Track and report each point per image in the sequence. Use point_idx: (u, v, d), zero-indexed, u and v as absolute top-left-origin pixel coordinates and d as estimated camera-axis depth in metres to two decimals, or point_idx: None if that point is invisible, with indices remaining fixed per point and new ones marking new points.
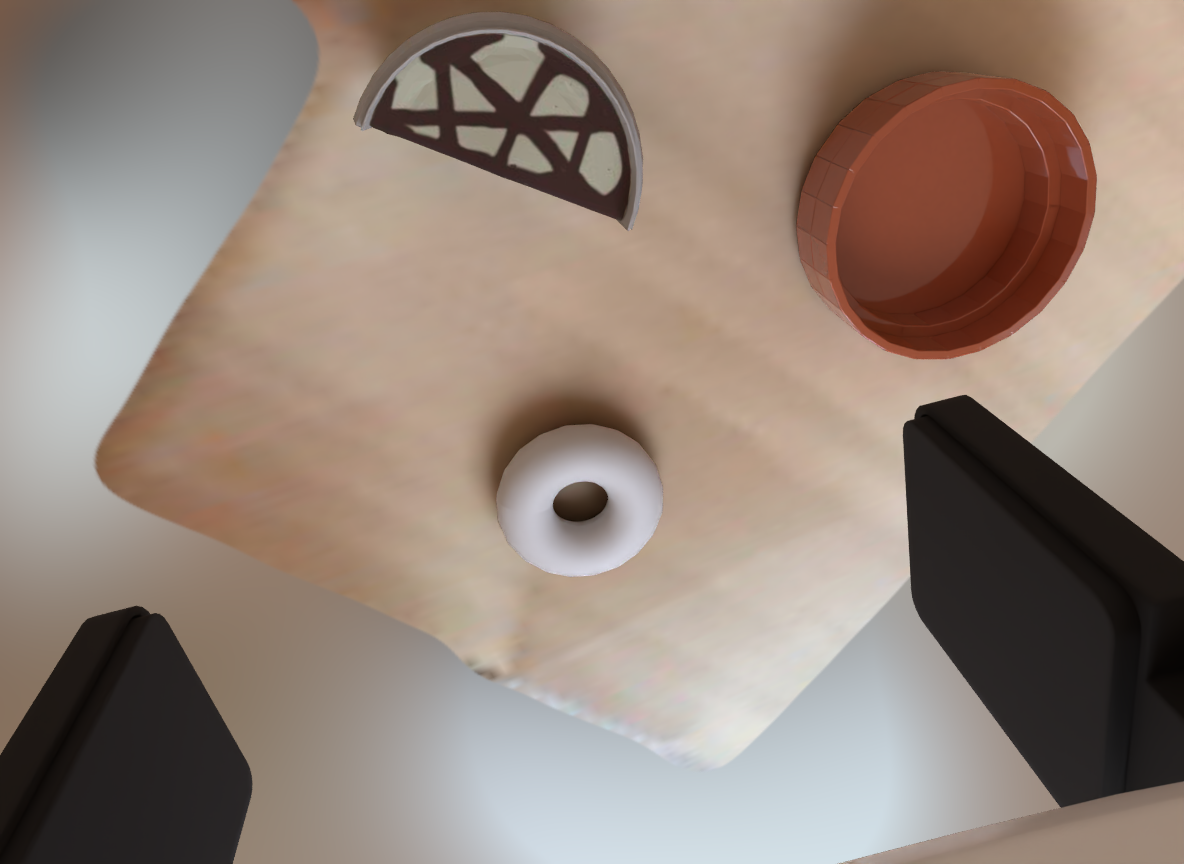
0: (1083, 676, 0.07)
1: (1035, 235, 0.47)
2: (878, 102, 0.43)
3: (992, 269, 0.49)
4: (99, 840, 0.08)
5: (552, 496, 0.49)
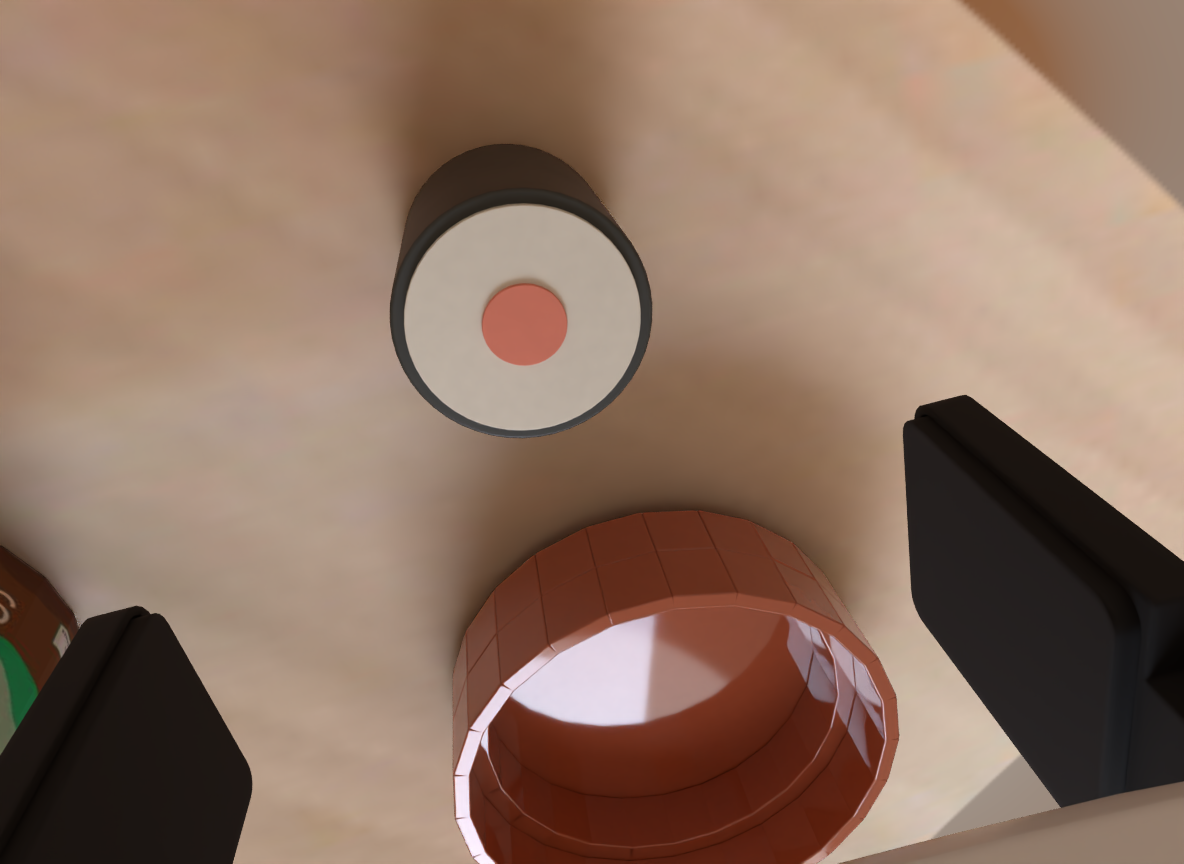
0: (1083, 676, 0.07)
1: (825, 723, 0.30)
2: (537, 586, 0.26)
3: (775, 739, 0.32)
4: (99, 840, 0.08)
5: None
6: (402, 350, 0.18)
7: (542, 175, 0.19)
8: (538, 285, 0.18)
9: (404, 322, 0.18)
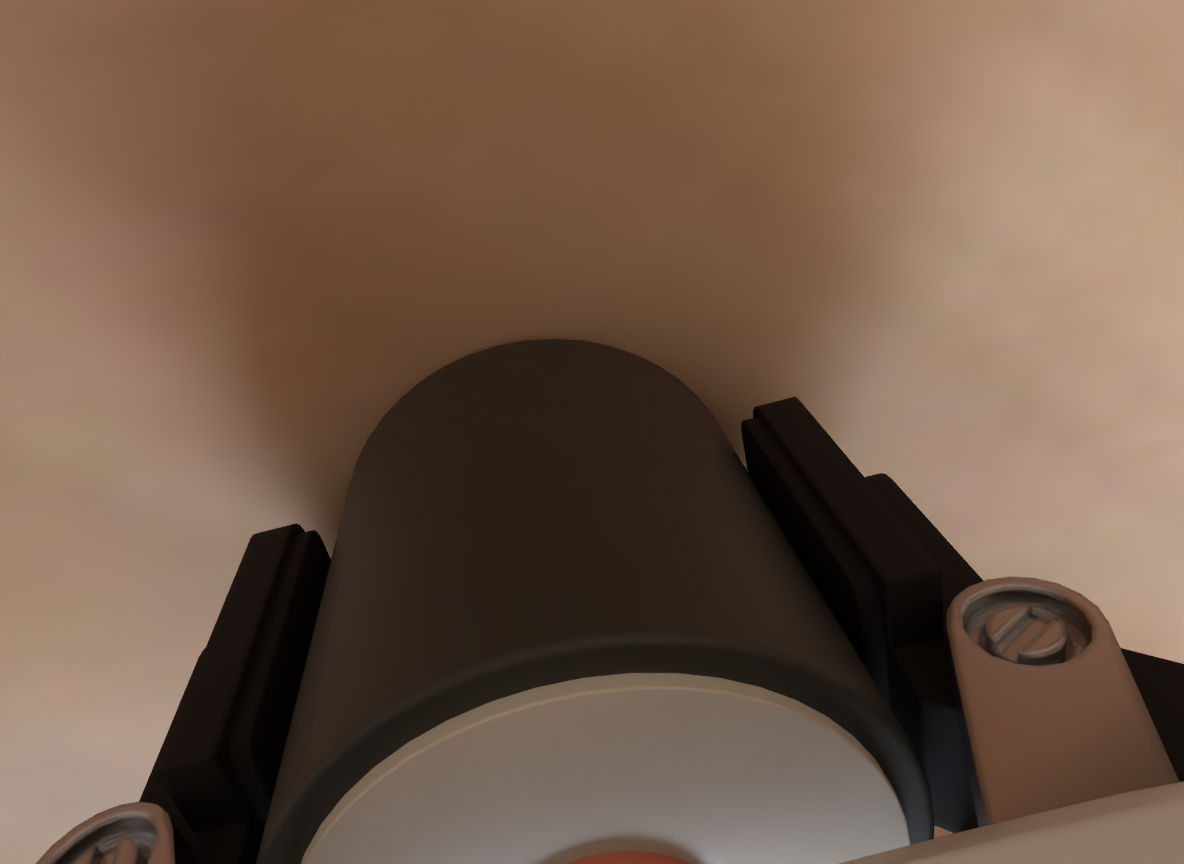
0: None
1: None
2: None
3: None
4: None
5: None
6: None
7: (655, 511, 0.07)
8: (653, 856, 0.07)
9: None
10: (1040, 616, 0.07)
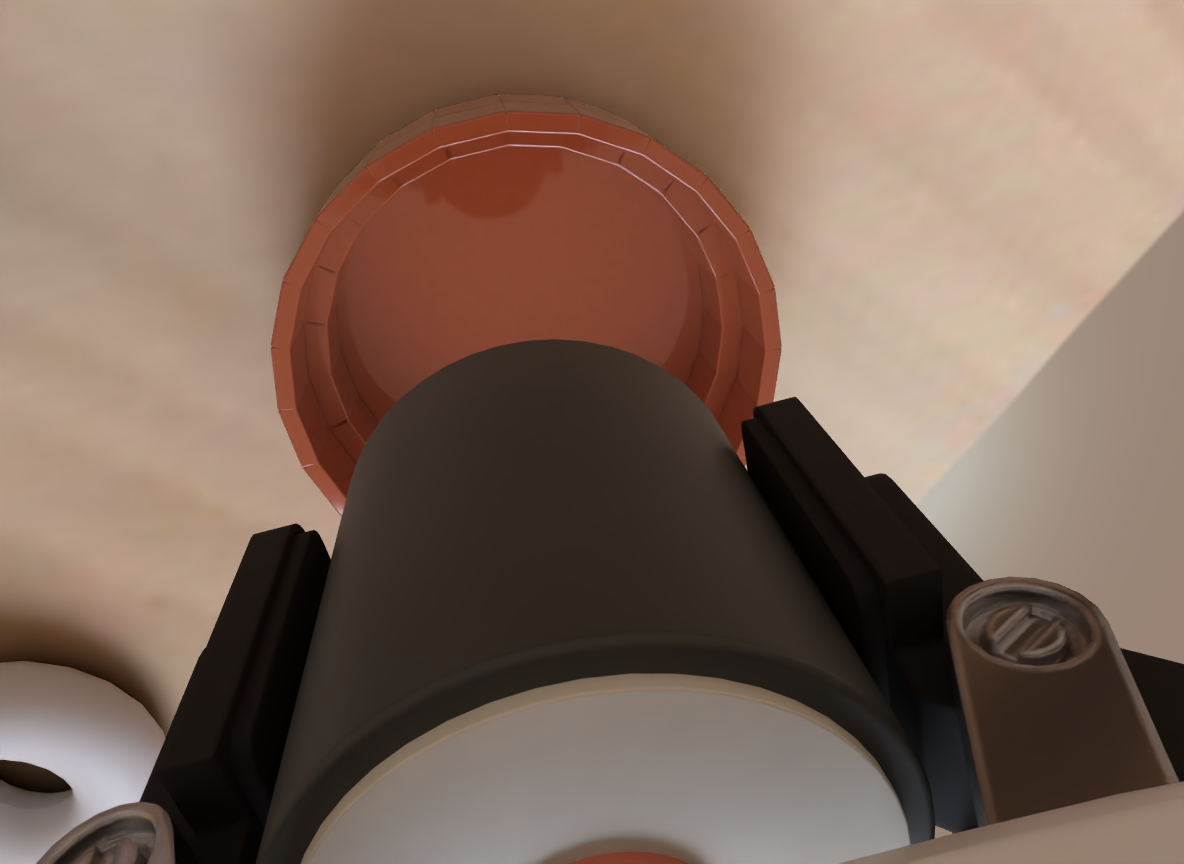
0: None
1: (712, 371, 0.27)
2: (372, 151, 0.23)
3: None
4: None
5: None
6: None
7: (655, 511, 0.07)
8: (655, 856, 0.07)
9: None
10: (1040, 616, 0.07)
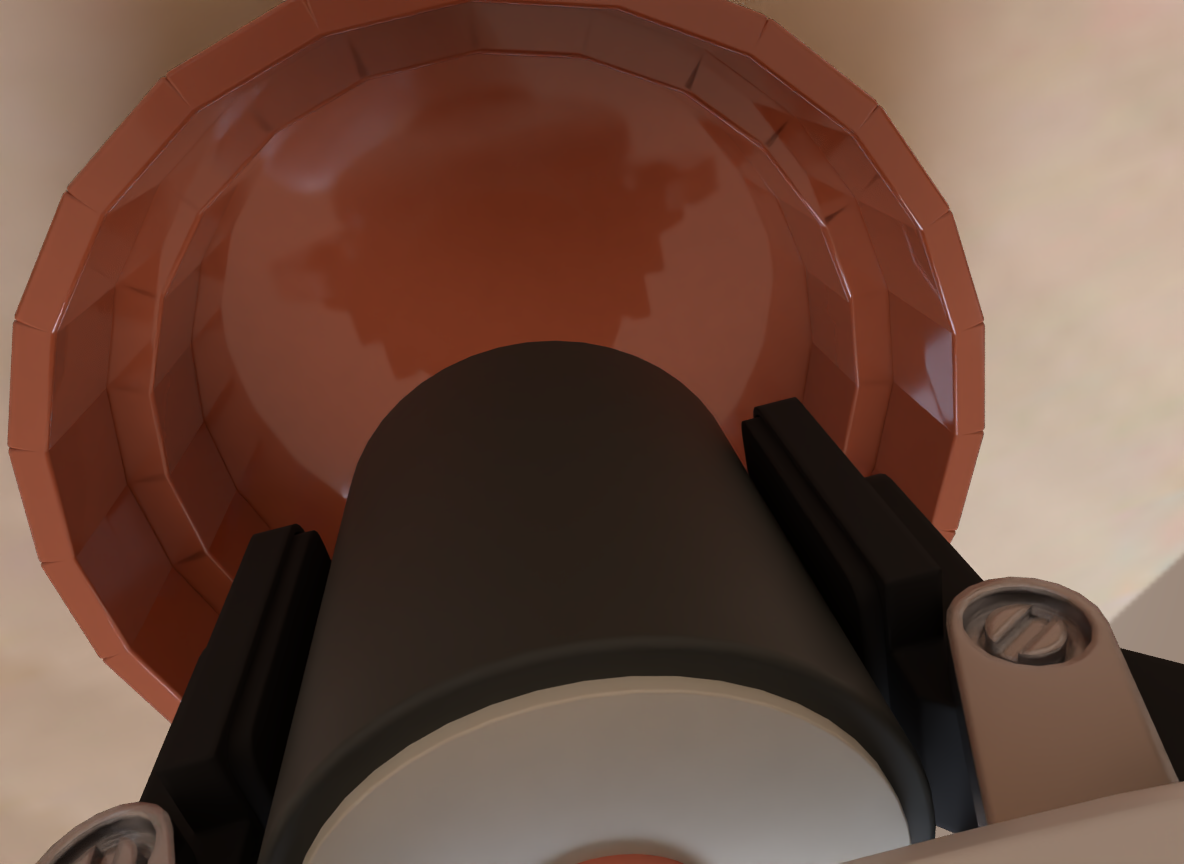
0: None
1: None
2: None
3: None
4: None
5: None
6: None
7: (656, 513, 0.07)
8: (655, 858, 0.07)
9: None
10: (1040, 616, 0.07)
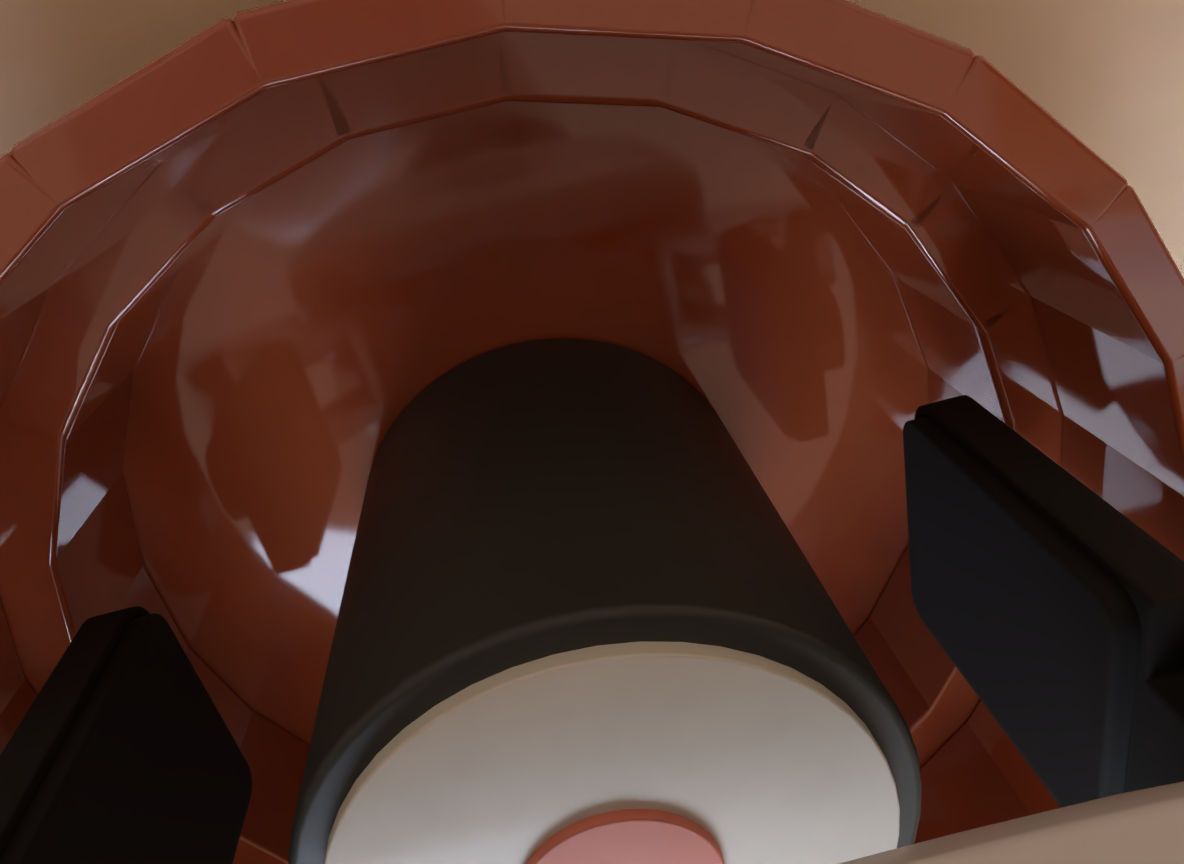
0: (1083, 676, 0.07)
1: None
2: None
3: None
4: (99, 840, 0.08)
5: None
6: None
7: (662, 497, 0.08)
8: (661, 813, 0.07)
9: None
10: None
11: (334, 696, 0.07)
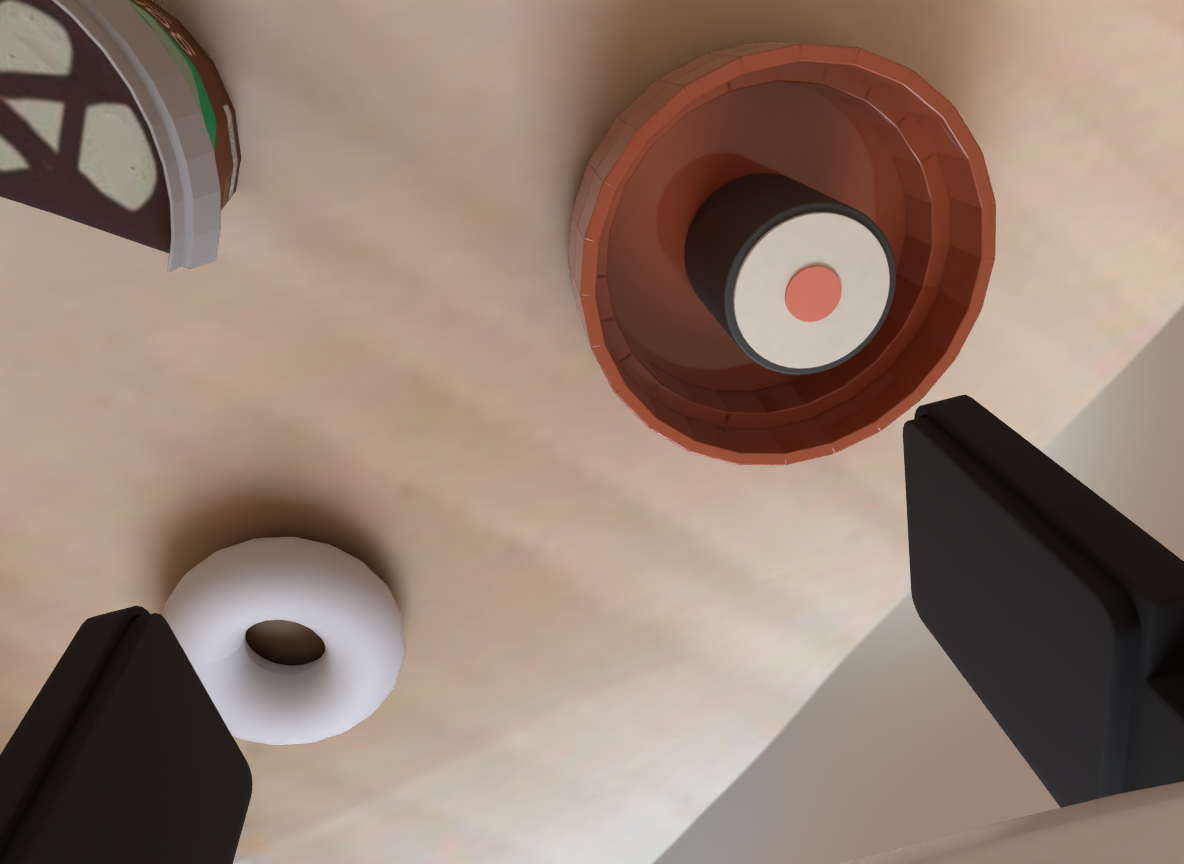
0: (1083, 676, 0.07)
1: (917, 287, 0.32)
2: (664, 83, 0.28)
3: None
4: (99, 840, 0.08)
5: (230, 640, 0.35)
6: (729, 308, 0.27)
7: (822, 194, 0.28)
8: (826, 267, 0.27)
9: (734, 289, 0.27)
10: None
11: (736, 238, 0.27)
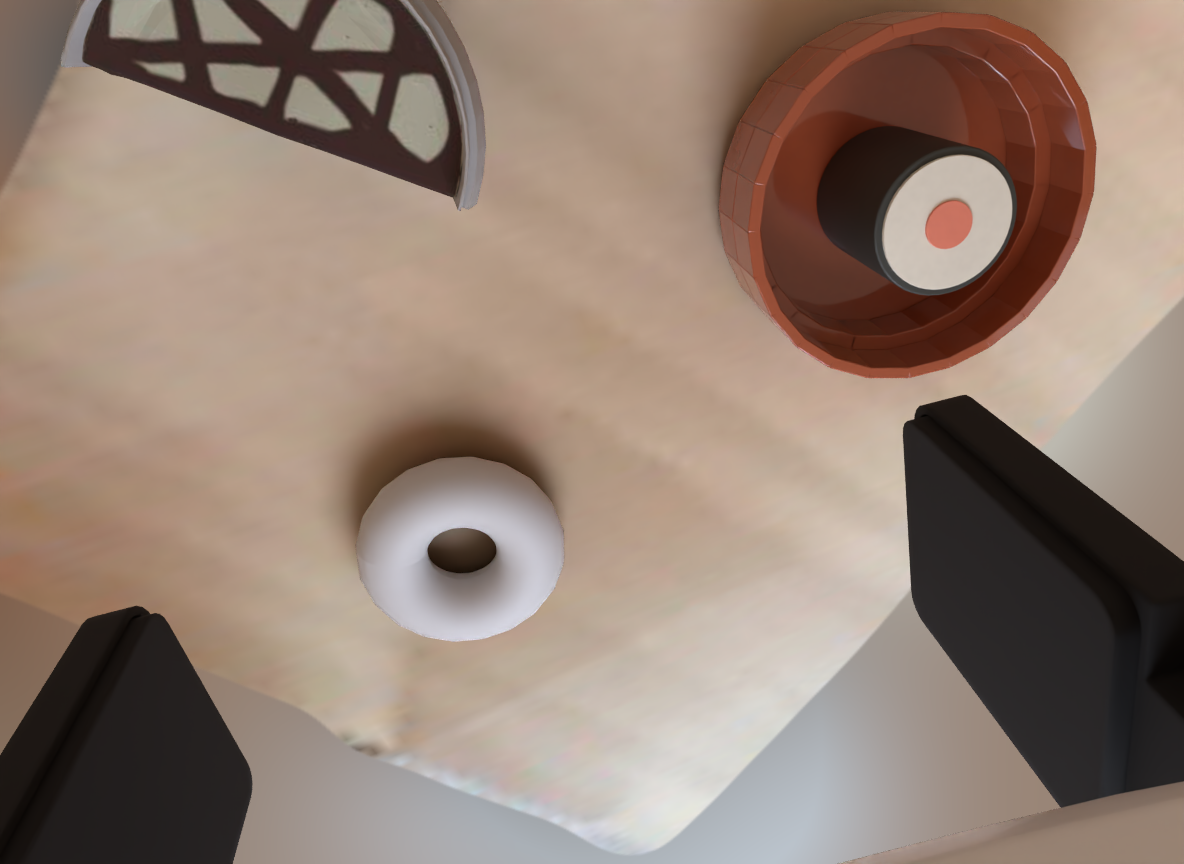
0: (1083, 676, 0.07)
1: (1019, 222, 0.37)
2: (815, 49, 0.33)
3: None
4: (99, 840, 0.08)
5: (422, 546, 0.40)
6: (878, 238, 0.32)
7: None
8: (961, 201, 0.32)
9: (884, 222, 0.32)
10: None
11: (883, 179, 0.32)
